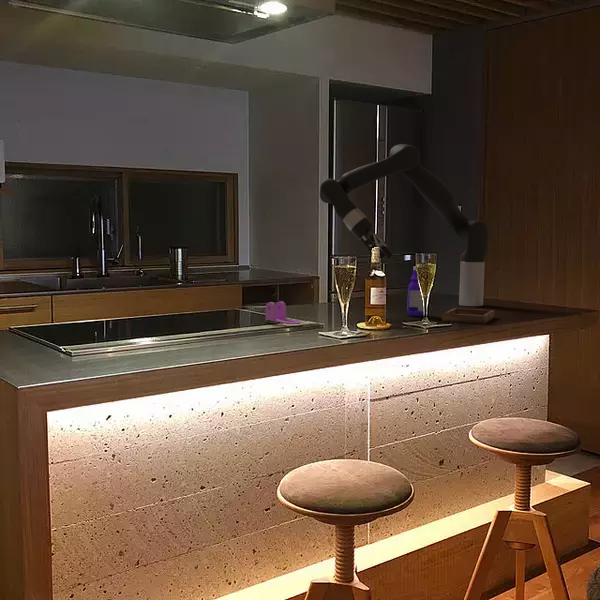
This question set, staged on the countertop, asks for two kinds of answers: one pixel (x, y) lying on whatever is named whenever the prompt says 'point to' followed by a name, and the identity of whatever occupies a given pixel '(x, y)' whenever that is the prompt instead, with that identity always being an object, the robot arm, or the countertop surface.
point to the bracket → (278, 313)
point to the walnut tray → (468, 315)
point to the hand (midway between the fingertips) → (387, 257)
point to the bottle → (414, 297)
